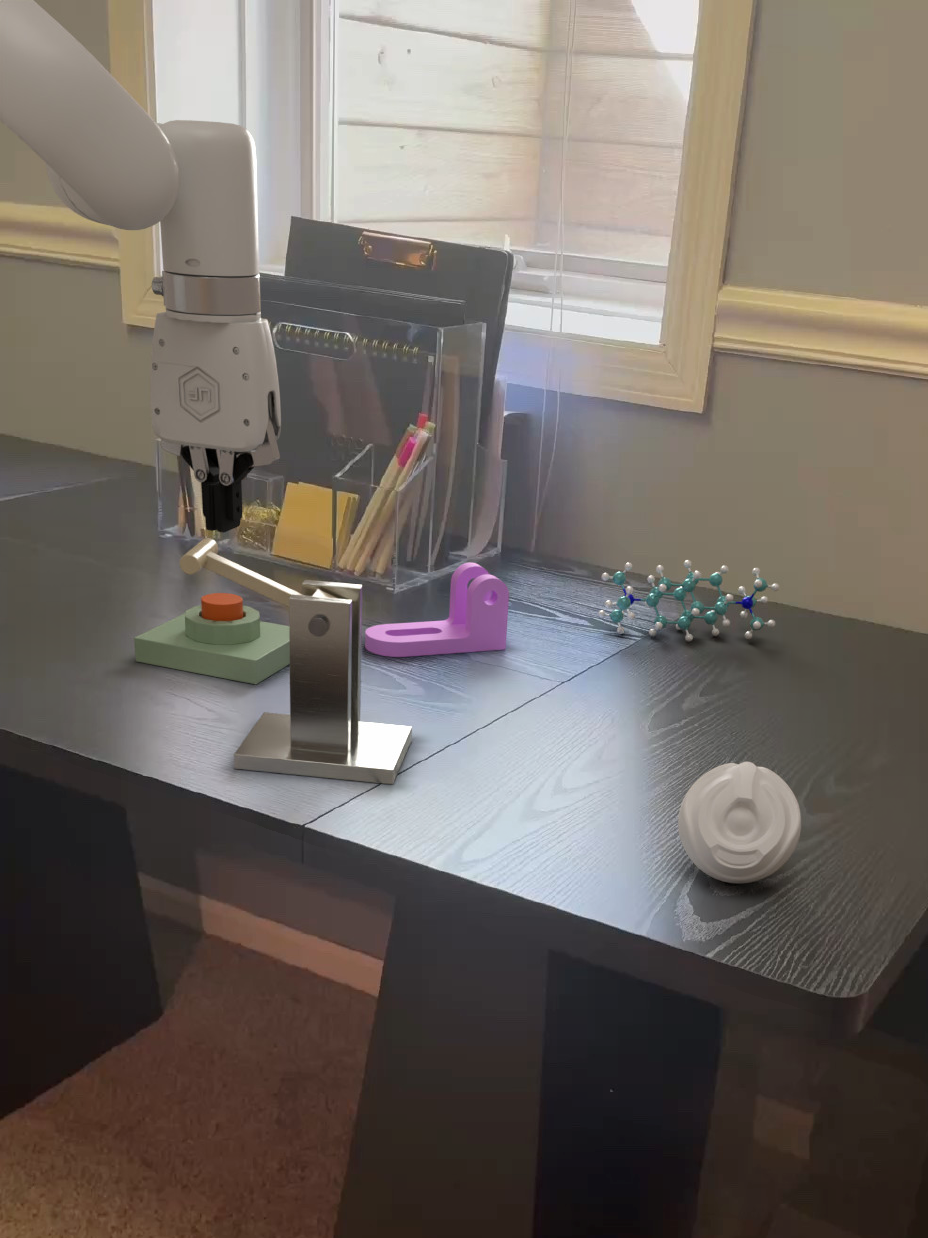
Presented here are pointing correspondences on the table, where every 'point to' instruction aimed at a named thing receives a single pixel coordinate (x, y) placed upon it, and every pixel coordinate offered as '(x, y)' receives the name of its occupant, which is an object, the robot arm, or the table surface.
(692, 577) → the molecule model
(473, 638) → the bracket
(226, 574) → the lever
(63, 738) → the table surface
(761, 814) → the motion sensor
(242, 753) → the bracket
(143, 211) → the robot arm
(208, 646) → the button box
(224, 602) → the button
